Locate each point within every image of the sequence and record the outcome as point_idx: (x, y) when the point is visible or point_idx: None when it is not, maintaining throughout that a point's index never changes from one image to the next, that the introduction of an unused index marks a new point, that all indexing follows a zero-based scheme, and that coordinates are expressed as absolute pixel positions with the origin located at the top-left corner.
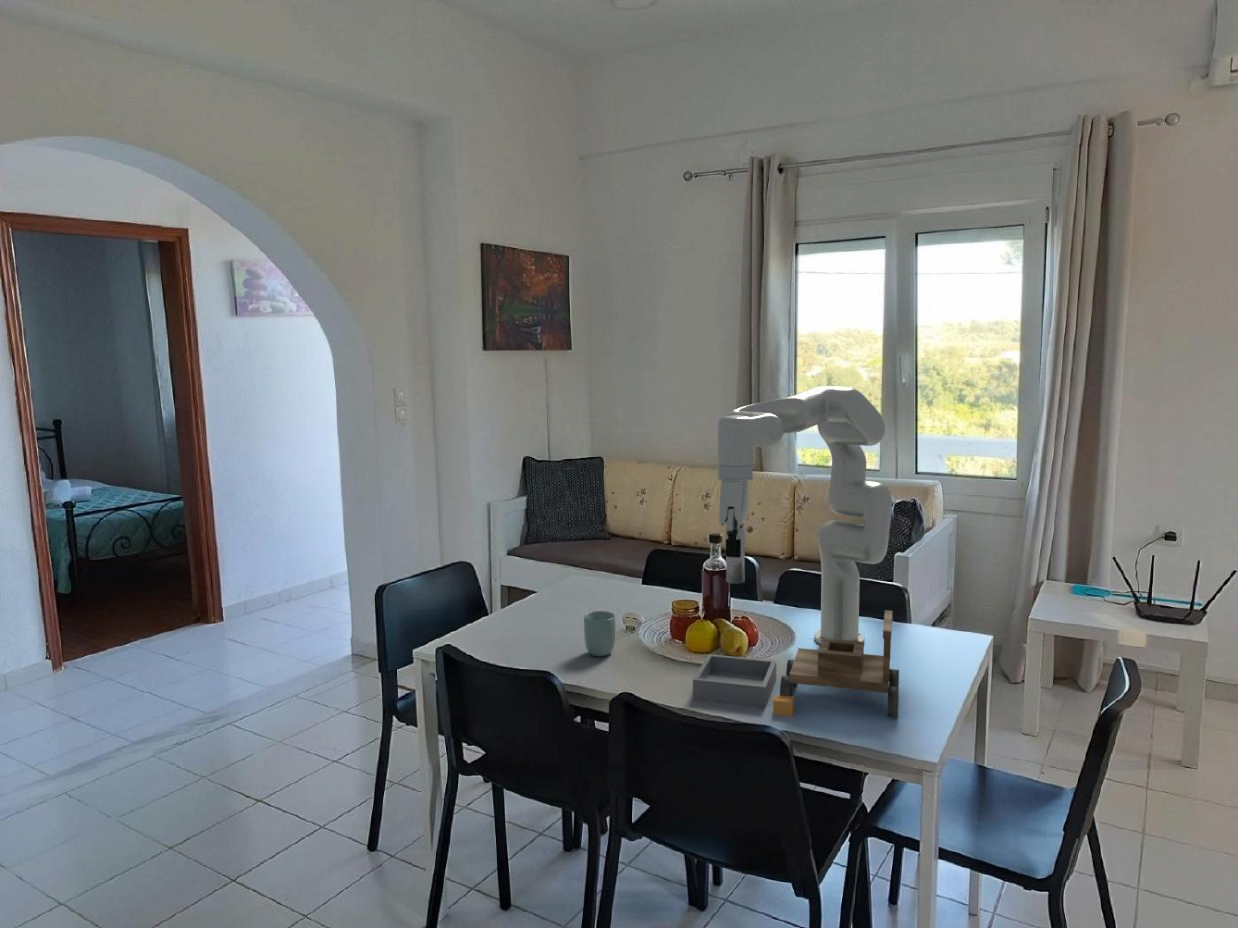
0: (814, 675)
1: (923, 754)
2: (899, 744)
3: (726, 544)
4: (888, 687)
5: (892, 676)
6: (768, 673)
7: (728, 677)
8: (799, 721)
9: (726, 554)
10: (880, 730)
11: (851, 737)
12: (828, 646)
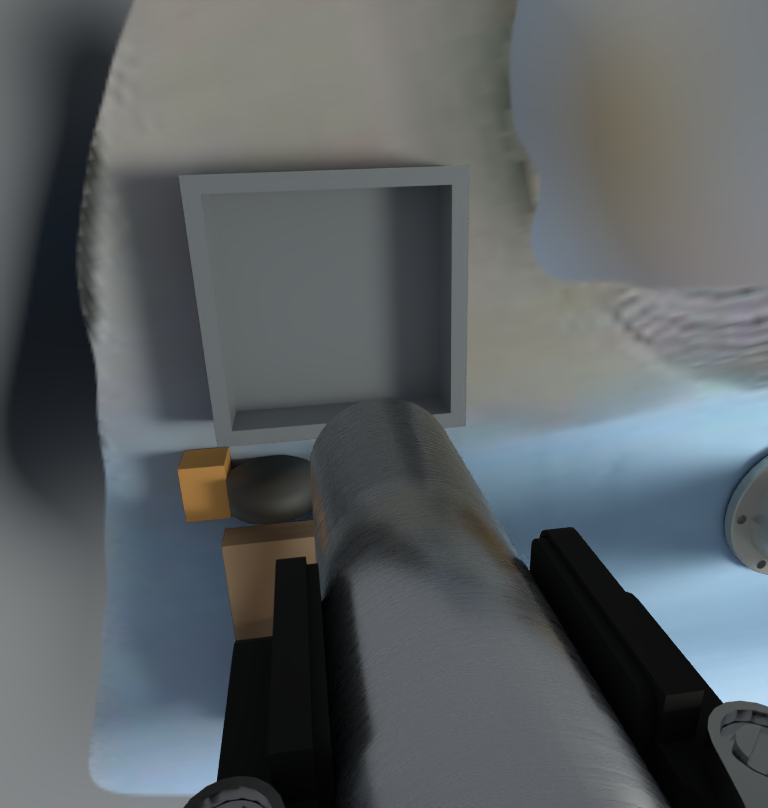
0: (240, 614)
1: (113, 777)
2: (141, 734)
3: (273, 679)
4: None
5: None
6: None
7: (388, 262)
8: (167, 524)
9: (276, 576)
10: (200, 691)
11: (128, 647)
12: None
